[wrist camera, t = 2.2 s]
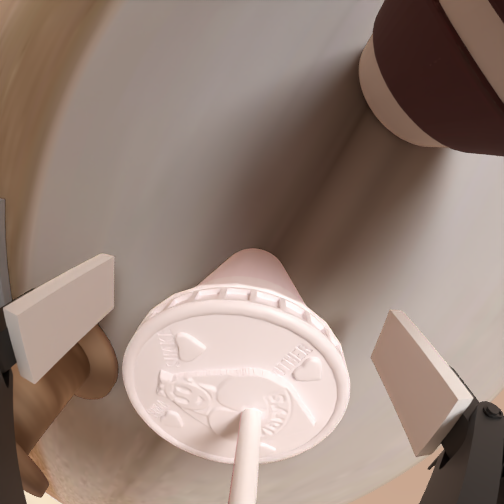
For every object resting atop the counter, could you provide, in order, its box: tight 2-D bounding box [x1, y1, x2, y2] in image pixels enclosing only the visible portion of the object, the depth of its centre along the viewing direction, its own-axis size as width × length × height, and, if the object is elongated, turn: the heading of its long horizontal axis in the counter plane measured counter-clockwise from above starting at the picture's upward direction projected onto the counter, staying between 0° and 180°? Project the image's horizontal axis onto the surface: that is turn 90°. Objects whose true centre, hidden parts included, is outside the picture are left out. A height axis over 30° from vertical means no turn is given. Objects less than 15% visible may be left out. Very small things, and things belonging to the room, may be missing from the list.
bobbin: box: [11, 324, 118, 497], centre depth 13 cm, size 9×9×12 cm
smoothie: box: [122, 248, 350, 504], centre depth 9 cm, size 6×6×14 cm
